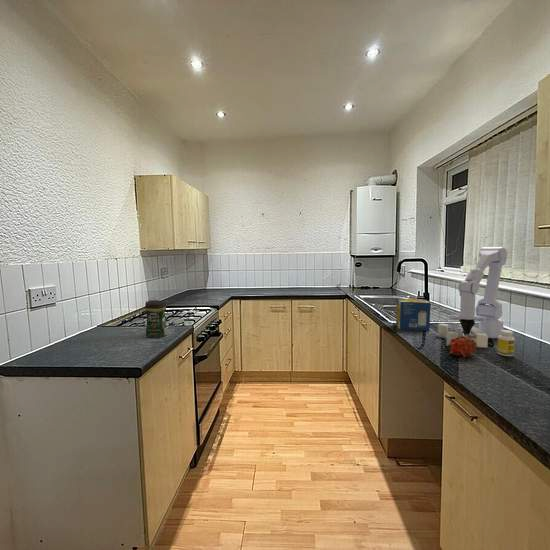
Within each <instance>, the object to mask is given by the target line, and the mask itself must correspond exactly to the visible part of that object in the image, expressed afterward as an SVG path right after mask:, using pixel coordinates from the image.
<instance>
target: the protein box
mask: <svg viewBox="0 0 550 550" xmlns="http://www.w3.org/2000/svg"><path fill="white" fill-rule="evenodd" d="M395 317H396V319H395V325H396V327H397V328H398V330H399V329H402V330H401V331H417V330H419V332H429V331H430V324H431V323H430V322H431V302H430V301H428V300H427V299H425V298H424V299H423V298H396V313H395Z"/></svg>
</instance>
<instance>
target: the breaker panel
mask: <svg viewBox="0 0 550 550" xmlns="http://www.w3.org/2000/svg"><path fill="white" fill-rule="evenodd" d="M456 329H457V331H458V332H459V333H461V334H462V337H464V336H465V335H464V332H463V328H462V327H457V328H456ZM466 337H468V338H470V339H472V340H474V342H475V343H477V347H476V348H488V341H489V338H488V335H487V334H485V333H483V332H482V331H480V330H479V328H478V327H476V326H475V325H474V326H473V327H472V329H471V331H470V333H469V334H466Z"/></svg>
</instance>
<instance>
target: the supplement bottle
mask: <svg viewBox="0 0 550 550" xmlns="http://www.w3.org/2000/svg"><path fill="white" fill-rule="evenodd" d="M513 335H514V331H513V330H508V329H503V330H501V335H499V336H498V338H497V347H496V348H497V350H496V353H497V354H498V355H500V356H505V357H513V356H514V354H515V353H514V352H515V337H514V336H513Z"/></svg>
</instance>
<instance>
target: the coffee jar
mask: <svg viewBox="0 0 550 550" xmlns="http://www.w3.org/2000/svg"><path fill="white" fill-rule="evenodd" d="M166 308H167V306H166V302H165V300H162V299H161V300H158V299H153V300H151V299H150V300H148V301H145V306H144V310H145V313H146V327H145V336H146V337H145V338H150V339H151V338H152V339H161V338H164V337H166V336H167V334H168V333H167V331H168V330H167V323H166Z"/></svg>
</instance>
